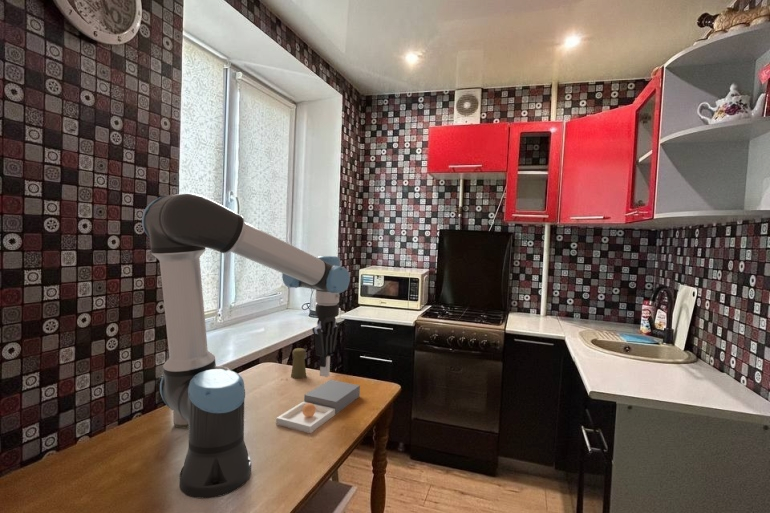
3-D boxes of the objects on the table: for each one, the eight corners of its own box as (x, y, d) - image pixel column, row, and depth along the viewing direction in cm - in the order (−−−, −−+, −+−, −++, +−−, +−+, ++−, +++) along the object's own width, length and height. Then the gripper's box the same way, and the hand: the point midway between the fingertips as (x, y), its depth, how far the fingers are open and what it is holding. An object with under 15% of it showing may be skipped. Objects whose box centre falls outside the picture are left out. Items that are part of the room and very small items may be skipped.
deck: (335, 414, 127) (336, 401, 126) (304, 406, 131) (304, 394, 131) (359, 396, 141) (359, 385, 141) (330, 390, 146) (330, 379, 146)
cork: (309, 375, 161) (310, 348, 161) (298, 379, 156) (299, 351, 155) (298, 372, 164) (299, 345, 164) (287, 376, 159) (288, 349, 159)
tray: (310, 433, 114) (310, 426, 114) (276, 424, 119) (276, 417, 119) (335, 414, 126) (335, 408, 126) (303, 407, 131) (303, 401, 131)
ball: (319, 411, 125) (312, 421, 122) (308, 408, 127) (301, 418, 123) (316, 401, 123) (309, 411, 120) (305, 399, 125) (298, 408, 122)
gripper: (326, 307, 123) (323, 383, 124) (347, 302, 135) (344, 372, 135) (305, 304, 126) (303, 379, 127) (328, 300, 138) (325, 368, 138)
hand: (324, 375), depth 131 cm, fingers closed
